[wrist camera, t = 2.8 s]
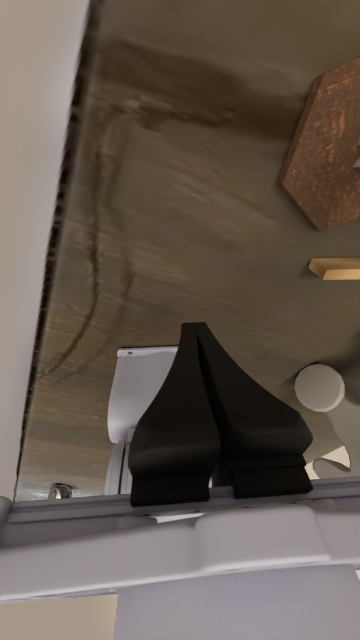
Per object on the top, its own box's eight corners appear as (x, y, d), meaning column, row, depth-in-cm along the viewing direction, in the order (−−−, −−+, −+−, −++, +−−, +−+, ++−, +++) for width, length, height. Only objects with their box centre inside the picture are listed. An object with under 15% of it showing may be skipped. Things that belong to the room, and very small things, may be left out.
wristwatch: (59, 480, 55) (64, 501, 54) (43, 493, 50) (49, 517, 49) (70, 476, 55) (75, 497, 54) (55, 488, 50) (61, 513, 49)
